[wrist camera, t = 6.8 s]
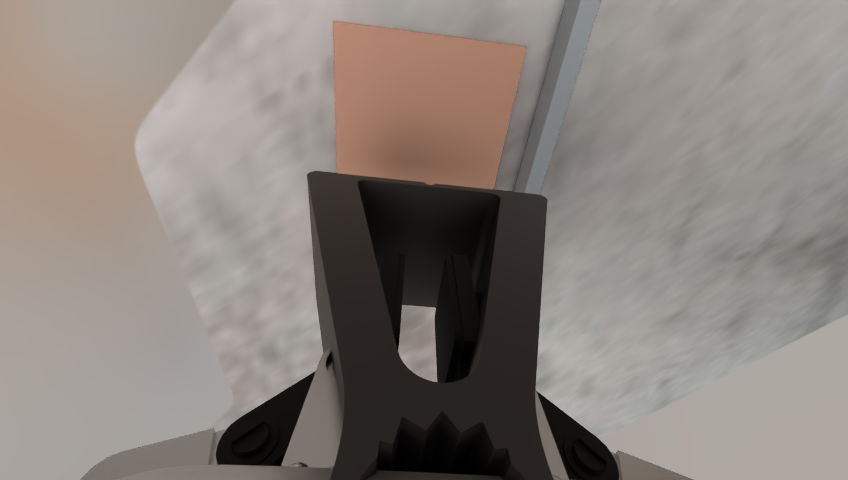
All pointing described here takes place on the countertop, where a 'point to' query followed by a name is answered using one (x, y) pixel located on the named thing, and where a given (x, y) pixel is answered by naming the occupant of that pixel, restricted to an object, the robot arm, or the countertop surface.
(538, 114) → the acrylic wall
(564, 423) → the robot arm
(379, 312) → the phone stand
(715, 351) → the countertop surface
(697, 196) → the countertop surface
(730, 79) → the countertop surface
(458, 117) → the mat
